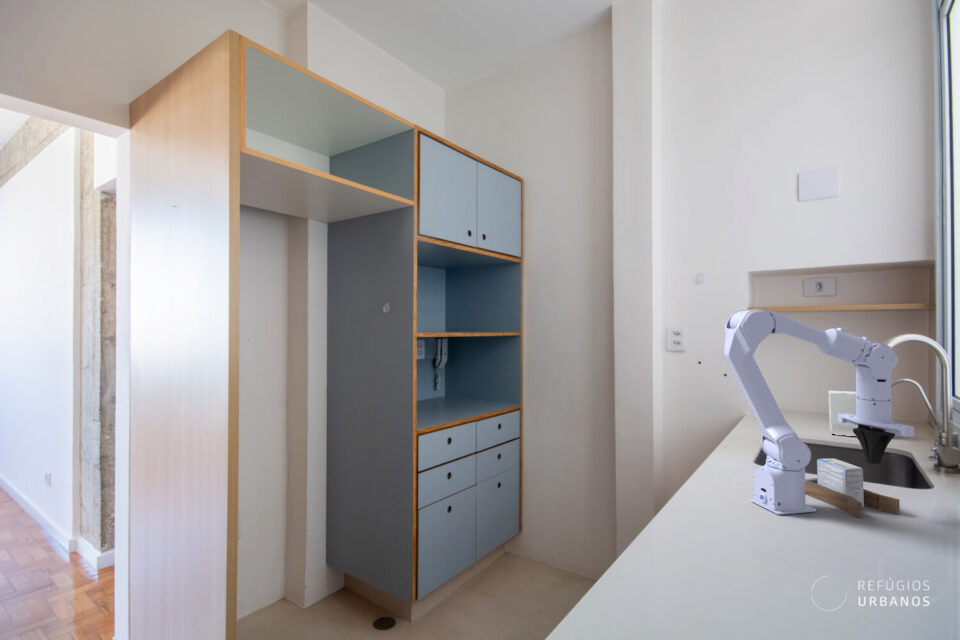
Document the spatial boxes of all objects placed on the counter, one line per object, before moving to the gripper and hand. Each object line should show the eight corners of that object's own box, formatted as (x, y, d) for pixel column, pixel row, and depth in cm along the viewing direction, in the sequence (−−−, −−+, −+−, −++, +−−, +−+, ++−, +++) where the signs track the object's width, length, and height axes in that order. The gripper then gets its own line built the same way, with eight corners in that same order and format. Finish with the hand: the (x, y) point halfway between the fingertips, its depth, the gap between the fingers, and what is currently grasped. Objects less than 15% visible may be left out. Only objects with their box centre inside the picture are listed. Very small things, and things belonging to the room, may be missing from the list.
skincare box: (857, 434, 169) (856, 391, 169) (860, 438, 163) (859, 393, 163) (828, 431, 173) (828, 389, 173) (830, 435, 168) (829, 391, 168)
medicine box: (864, 508, 101) (864, 468, 102) (845, 508, 101) (844, 468, 101) (834, 495, 109) (834, 457, 109) (816, 495, 109) (816, 458, 109)
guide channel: (858, 518, 96) (858, 503, 96) (795, 492, 111) (795, 479, 111) (901, 514, 98) (901, 499, 98) (834, 489, 113) (834, 476, 113)
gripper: (926, 404, 93) (927, 472, 93) (856, 393, 107) (857, 452, 107) (896, 405, 92) (897, 474, 92) (830, 394, 106) (830, 454, 106)
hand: (873, 462), depth 100 cm, fingers closed
